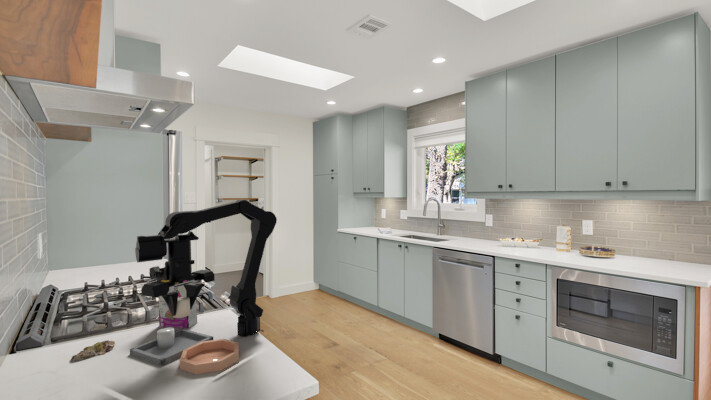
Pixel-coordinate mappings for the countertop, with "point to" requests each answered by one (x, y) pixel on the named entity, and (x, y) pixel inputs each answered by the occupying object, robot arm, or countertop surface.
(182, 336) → the tray
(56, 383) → the countertop surface
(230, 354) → the bowl
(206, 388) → the countertop surface
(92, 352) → the mineral rock
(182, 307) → the pebble sand
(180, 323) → the candy bar box
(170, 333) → the pebble grey
